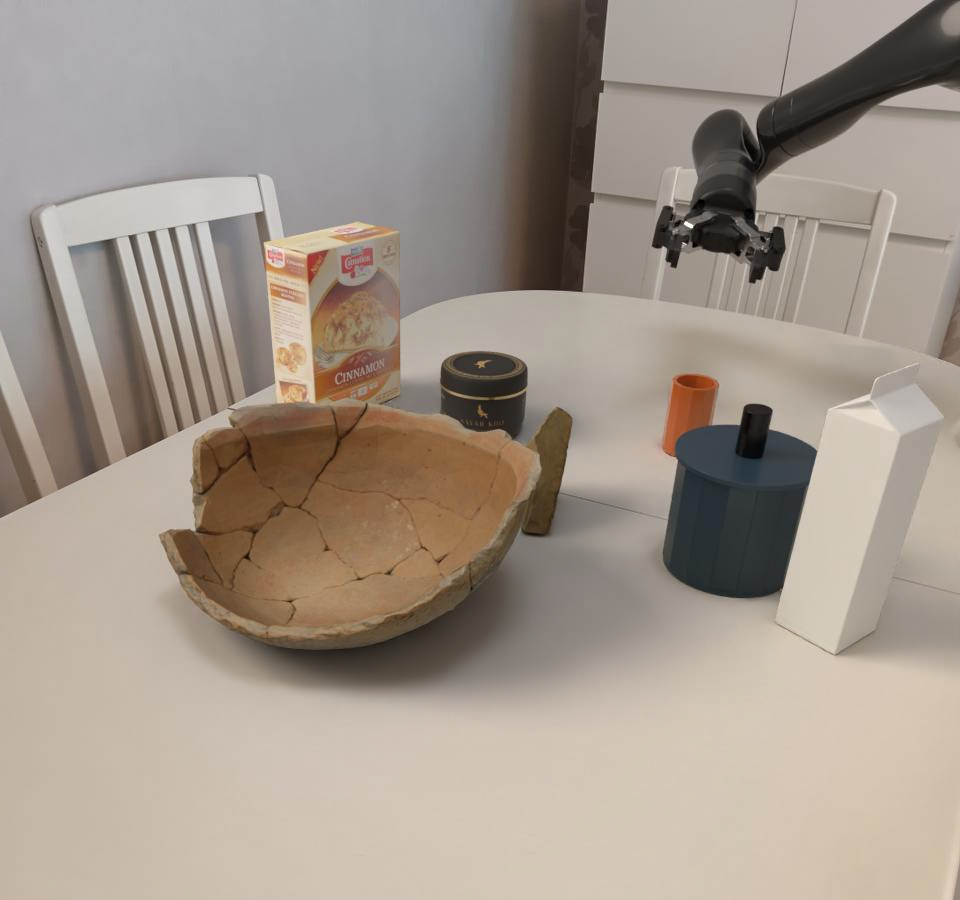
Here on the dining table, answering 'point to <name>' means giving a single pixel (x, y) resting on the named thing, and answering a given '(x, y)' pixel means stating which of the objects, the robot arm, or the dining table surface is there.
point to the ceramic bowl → (346, 520)
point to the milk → (858, 511)
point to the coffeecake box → (335, 314)
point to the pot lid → (747, 454)
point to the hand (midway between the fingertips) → (715, 267)
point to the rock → (548, 470)
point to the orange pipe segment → (688, 406)
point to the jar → (484, 390)
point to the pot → (730, 536)
